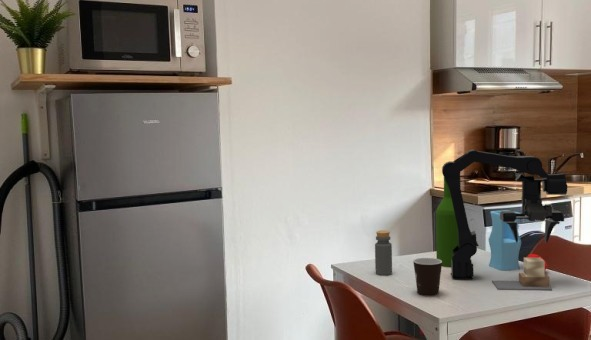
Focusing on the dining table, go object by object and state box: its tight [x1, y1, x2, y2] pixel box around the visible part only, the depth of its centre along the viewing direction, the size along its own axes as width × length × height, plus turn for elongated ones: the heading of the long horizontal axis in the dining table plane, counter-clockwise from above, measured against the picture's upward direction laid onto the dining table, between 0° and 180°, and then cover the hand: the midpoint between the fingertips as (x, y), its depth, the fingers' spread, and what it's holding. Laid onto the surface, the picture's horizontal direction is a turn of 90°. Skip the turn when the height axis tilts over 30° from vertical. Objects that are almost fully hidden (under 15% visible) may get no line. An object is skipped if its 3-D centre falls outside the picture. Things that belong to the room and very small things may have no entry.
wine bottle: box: [435, 177, 458, 268], centre depth 204 cm, size 9×9×32 cm
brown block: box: [518, 272, 551, 288], centre depth 175 cm, size 8×5×3 cm, turn 81°
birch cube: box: [523, 257, 546, 277], centre depth 175 cm, size 5×5×5 cm
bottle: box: [374, 230, 393, 277], centre depth 195 cm, size 6×6×15 cm
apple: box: [525, 253, 548, 271], centre depth 191 cm, size 7×7×8 cm
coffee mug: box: [412, 257, 443, 297], centre depth 172 cm, size 12×9×10 cm
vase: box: [488, 209, 522, 272], centre depth 198 cm, size 8×8×20 cm
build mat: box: [491, 279, 553, 291], centre depth 175 cm, size 16×9×1 cm, turn 81°
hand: (531, 242), depth 181 cm, fingers open, 9 cm apart
